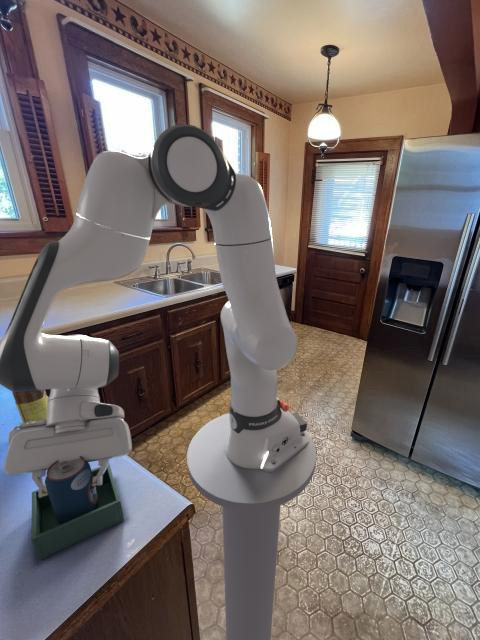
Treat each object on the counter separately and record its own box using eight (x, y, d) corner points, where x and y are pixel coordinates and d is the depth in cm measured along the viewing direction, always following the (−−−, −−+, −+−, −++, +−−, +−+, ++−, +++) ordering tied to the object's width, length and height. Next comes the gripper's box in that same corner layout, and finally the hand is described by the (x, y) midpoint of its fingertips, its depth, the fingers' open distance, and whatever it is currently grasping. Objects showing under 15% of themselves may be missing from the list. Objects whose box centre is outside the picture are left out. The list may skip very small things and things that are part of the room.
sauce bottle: (62, 425, 84) (44, 360, 76) (40, 441, 78) (18, 371, 70) (42, 421, 85) (22, 355, 77) (20, 435, 79) (-4, 367, 71)
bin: (113, 480, 68) (109, 463, 66) (124, 520, 60) (120, 501, 58) (38, 510, 61) (31, 492, 59) (39, 560, 53) (31, 540, 51)
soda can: (106, 512, 61) (95, 465, 56) (66, 538, 56) (49, 489, 51) (91, 492, 65) (79, 447, 60) (52, 514, 60) (36, 467, 55)
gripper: (1, 422, 55) (-8, 507, 51) (127, 405, 62) (129, 479, 57) (18, 426, 61) (11, 503, 56) (132, 410, 68) (134, 478, 63)
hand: (71, 491), depth 57 cm, fingers closed on soda can, 7 cm apart
